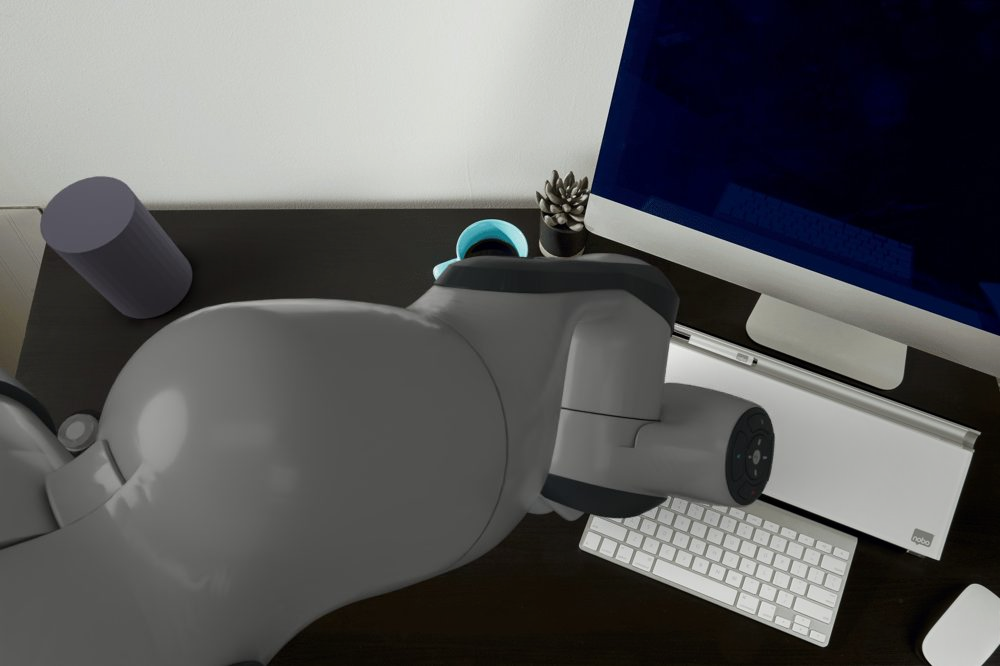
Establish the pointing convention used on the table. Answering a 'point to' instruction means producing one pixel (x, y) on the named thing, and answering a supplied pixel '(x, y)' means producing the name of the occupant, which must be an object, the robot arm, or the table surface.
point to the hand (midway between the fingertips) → (521, 404)
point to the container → (117, 246)
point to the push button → (79, 431)
